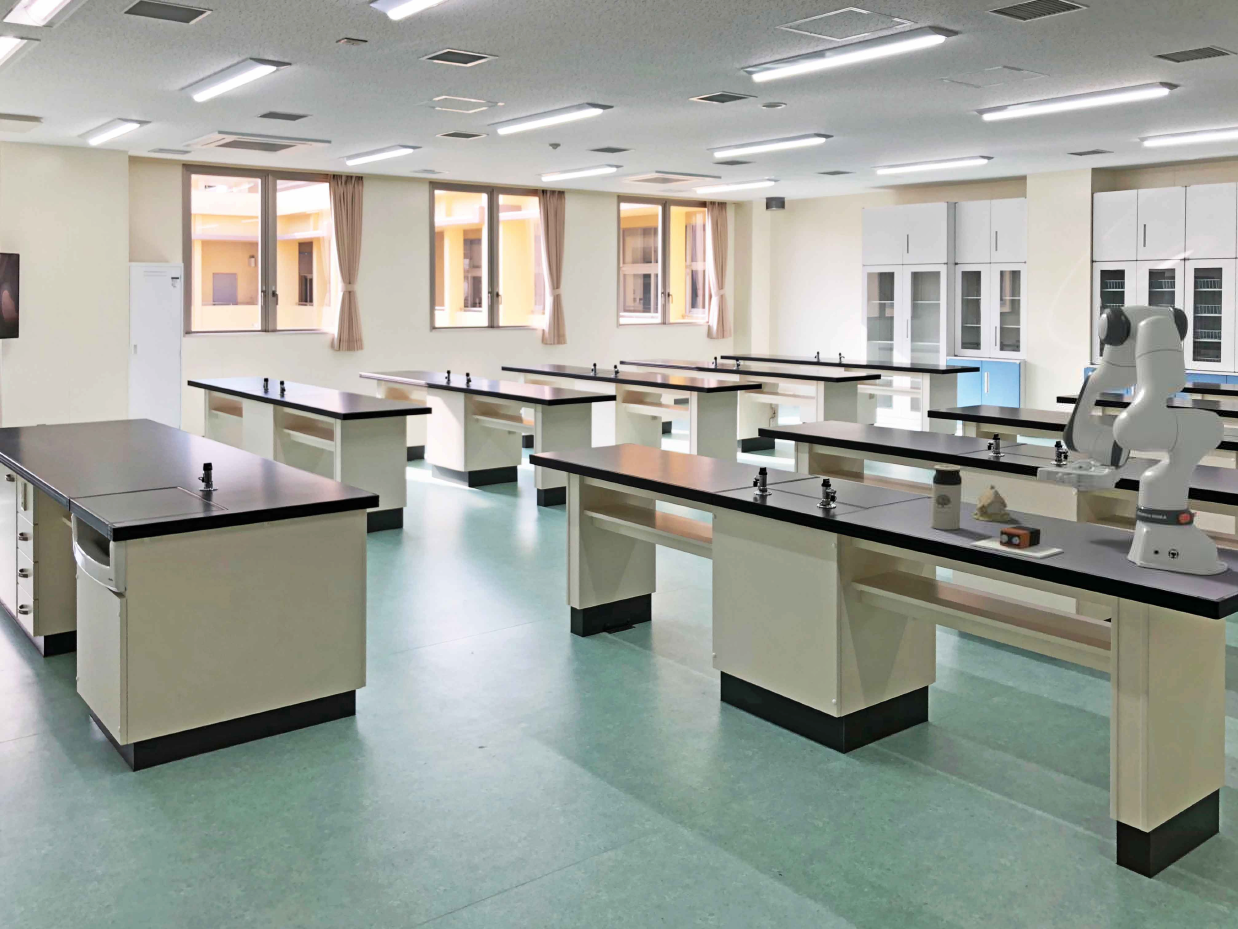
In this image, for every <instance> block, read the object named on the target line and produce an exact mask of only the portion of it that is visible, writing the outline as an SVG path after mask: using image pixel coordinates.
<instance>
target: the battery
mask: <svg viewBox="0 0 1238 929" xmlns="http://www.w3.org/2000/svg"><path fill="white" fill-rule="evenodd" d="M999 538H1000V545H1003V546H1008V547H1013V548H1018V549H1023V548H1027V547H1031V546H1035V545H1039V546H1040V544H1041V529H1040V528H1036V527H1030V526H1024V525H1016V526H1015V525H1014V526H1010V527H1005V528H1001V529H1000V530H999Z"/></svg>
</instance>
